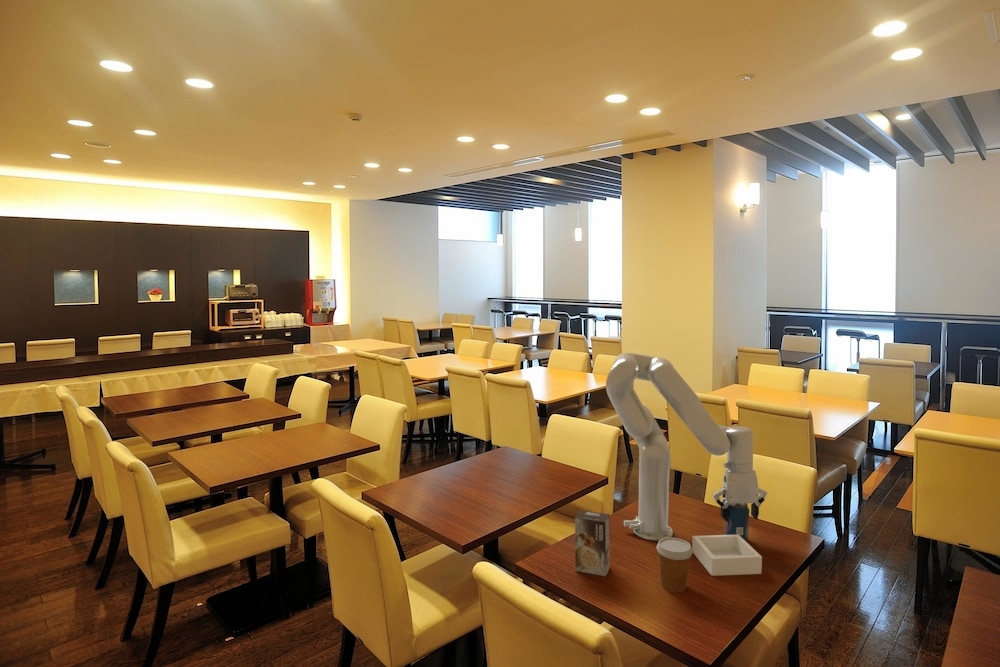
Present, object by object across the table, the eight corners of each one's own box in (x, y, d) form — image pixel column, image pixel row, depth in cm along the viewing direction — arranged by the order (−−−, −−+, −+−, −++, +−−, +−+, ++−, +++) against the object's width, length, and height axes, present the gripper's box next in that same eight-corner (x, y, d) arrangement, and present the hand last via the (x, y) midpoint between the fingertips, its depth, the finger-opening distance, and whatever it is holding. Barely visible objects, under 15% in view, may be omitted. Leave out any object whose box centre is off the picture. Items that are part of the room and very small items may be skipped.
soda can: (722, 534, 192) (723, 498, 190) (744, 535, 191) (746, 499, 189) (727, 544, 185) (729, 507, 183) (750, 545, 184) (752, 508, 183)
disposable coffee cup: (686, 599, 154) (687, 556, 152) (650, 589, 159) (651, 547, 157) (695, 583, 162) (696, 541, 160) (661, 574, 167) (662, 533, 165)
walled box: (711, 575, 166) (712, 558, 165) (692, 551, 180) (692, 535, 179) (761, 573, 166) (762, 557, 166) (737, 549, 181) (738, 534, 180)
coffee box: (610, 566, 171) (611, 513, 169) (605, 577, 165) (606, 522, 163) (579, 561, 174) (579, 509, 173) (574, 571, 168) (574, 517, 167)
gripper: (718, 471, 181) (718, 525, 183) (772, 468, 182) (772, 521, 184) (708, 463, 188) (708, 515, 190) (760, 461, 189) (760, 512, 191)
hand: (739, 518), depth 187 cm, fingers open, 9 cm apart
